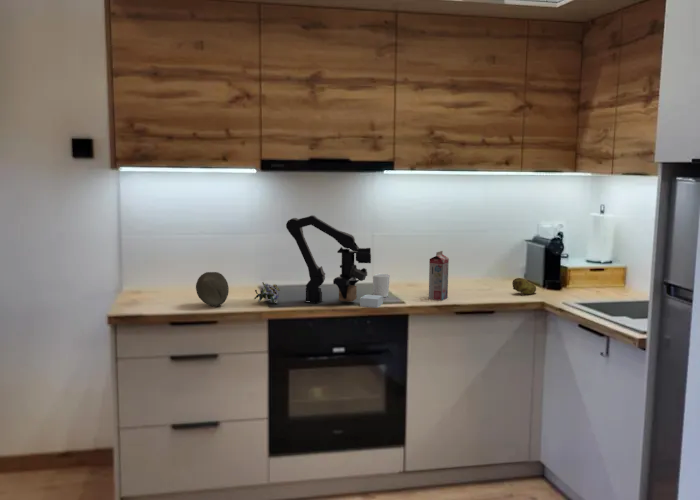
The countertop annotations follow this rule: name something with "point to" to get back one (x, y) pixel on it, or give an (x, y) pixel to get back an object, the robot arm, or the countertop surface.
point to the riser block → (371, 301)
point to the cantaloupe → (212, 288)
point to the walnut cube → (349, 294)
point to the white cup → (381, 284)
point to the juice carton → (438, 277)
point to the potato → (523, 286)
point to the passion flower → (268, 292)
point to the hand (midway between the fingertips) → (347, 297)
